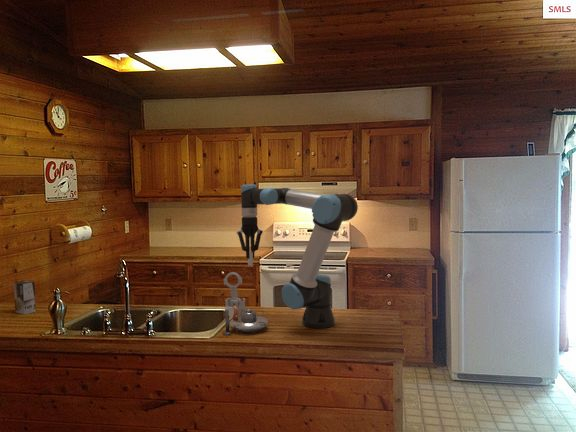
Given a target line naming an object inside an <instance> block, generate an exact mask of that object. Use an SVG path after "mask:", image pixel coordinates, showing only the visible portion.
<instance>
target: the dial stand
mask: <svg viewBox="0 0 576 432" xmlns="http://www.w3.org/2000/svg"><path fill="white" fill-rule="evenodd" d="M224 308H225V309H224V310H225V312H224V313H225V314H224V316H225V320H224V321H225V331H222V336H230V335H233V331H232V330H230V317H231V316H233V315H234V308H233V307H231V306H229V307H226V306H225V307H224Z"/></svg>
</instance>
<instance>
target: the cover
mask: <svg viewBox="0 0 576 432" xmlns="http://www.w3.org/2000/svg"><path fill="white" fill-rule="evenodd" d="M257 316H258V313H257V311H256V310H253V309H252V308H245V311H242V312H241V314H240V317H241V322H243V323H253V322H256V321H257Z"/></svg>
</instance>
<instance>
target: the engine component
mask: <svg viewBox="0 0 576 432" xmlns="http://www.w3.org/2000/svg"><path fill="white" fill-rule="evenodd" d="M230 276H235V277H236V278H237V283H236V284H235V285H233V284H230V283H229V280H228V279H229V277H230ZM223 284H224V286H227V287H228V288H229V289H230V296H231V297H228V298H226V299H225V307H229V306H231V307H233V306H238V315H241V312H242V311H245V310H246V298H244V297H243V298H242V299H241V298H240V297H239V294H238V287H239V286H240V285H241V284H243V278H242V276H240V275H239V274H238V273H237V272H234V271H232V272H229V273H227V274H226V276H225V277H224V278H223Z"/></svg>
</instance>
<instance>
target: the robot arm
mask: <svg viewBox="0 0 576 432" xmlns="http://www.w3.org/2000/svg"><path fill="white" fill-rule="evenodd" d="M240 189H241V190H240V195H241V196H240V198H241V199H240V200H241V203H240V204H241V216H242V217H241V227H240V230H239V231H236V235H237V236H238V239H239V243H240V246H241V250H242V251H244V252H245V258H246V260H247V266H250V267H251V266H254V259H255V253H256V251H258V250H259V248H260V247H259V246H260V241H261V237H262V234H263V233H264V230H261V229H259V226H258V205H262V206H263V205H266V206H268V205H269V206H271V205H278V204H279V205H281V204H283V205H288V206H295V207H298V208H299V207H300V208H305V209H310V210H311V213H312V217H313V218H312V222H313V224H314V227H313V229H312V231H311V235H310V236H309V240H308V242H307V245H306V248H305V250H304V252H303V256H302V258H301V261H300V264H299V266H298V269H297V272H294V273H293V274H292V275H291V278H290V281H289V283H285V284H284V285H283V286H282V287H281V288H282V289H281V298H282V301H283V303H284V304H285V306H287V307H288V308H289V309H291V310H300V309H303V308H305V309H304V312H303V314H302V320H301V323H302V325H303V326H304V327H307V328H310V329H325V328H326V329H328V328H331V327H333V326H335V325H336V323H335V321H336V319H335V316H334V314H333V310H332V307H331V306H332V305H331V303H332V299H331V298H332V297H331V296H332V288H331V285H332V283H331V277H330V276H329V275H325V274H319V272H320V269H321V266H322V264H323V261H324V259H325V256H326V254H327V251H328V248H329V246H330V243H331V241H332V238H333V237H334V236H333V235H334V233H336V232H338V231H340V228H341V226H342V223H343V222H347V221H350V220H352V219H353V218H355V216H356V215H357V213H358V210H359V207H358V206H359V205H358V202H357V199H356V198H355V197H354V196H353V195H351V194H348V193H328V194H326V193H324V194H323V193H319V192H318V193H317V192H312V191H304V190H298V189H292V188H290V187H289V188H288V187H279V188H273V187H266V188H258V186H257V184H242V185H241V188H240ZM243 234H244V236H243ZM244 238H245V240H244Z"/></svg>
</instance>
